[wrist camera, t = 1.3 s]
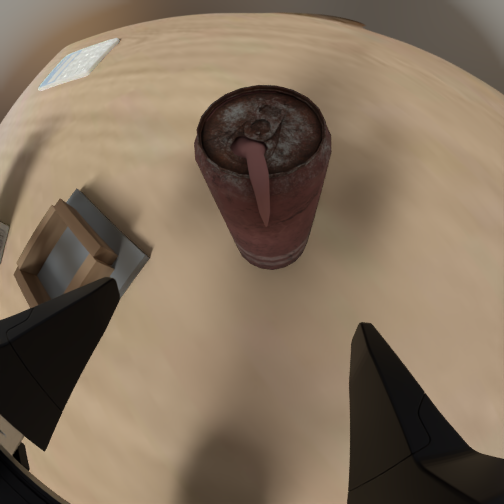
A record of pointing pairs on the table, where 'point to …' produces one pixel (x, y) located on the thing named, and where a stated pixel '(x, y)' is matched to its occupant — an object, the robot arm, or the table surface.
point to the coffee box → (3, 237)
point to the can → (265, 169)
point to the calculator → (78, 64)
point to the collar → (75, 252)
